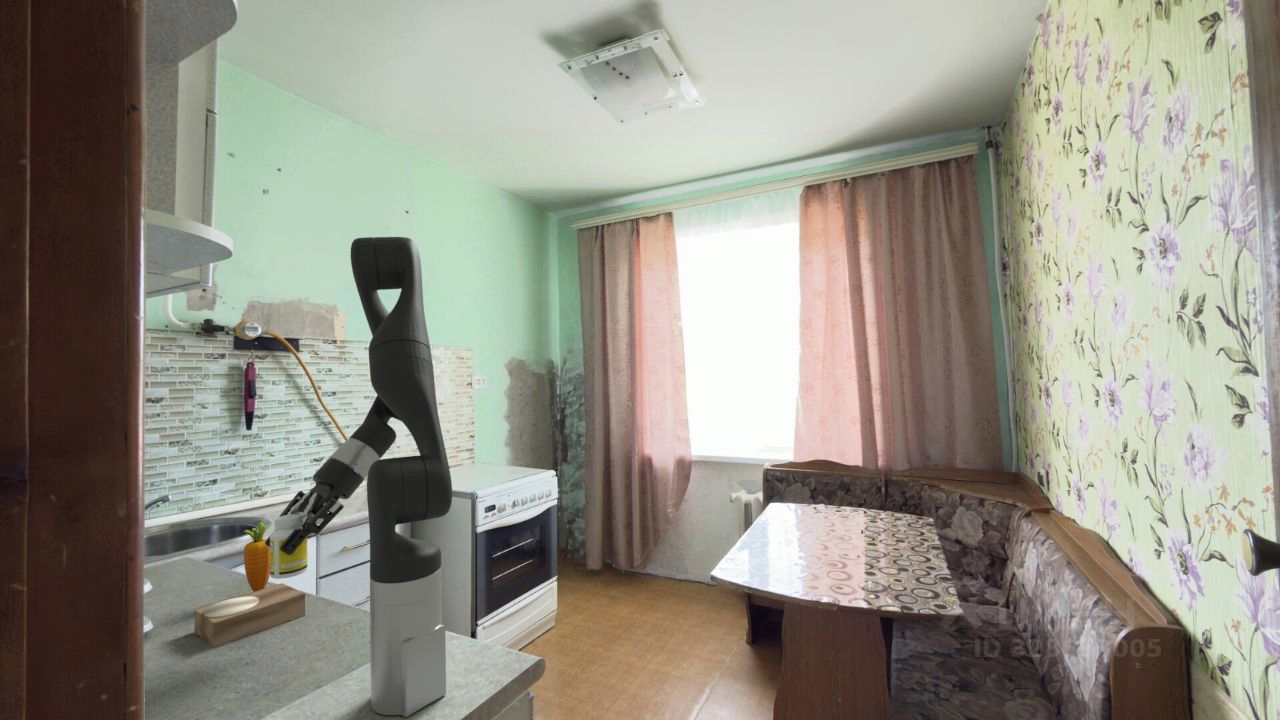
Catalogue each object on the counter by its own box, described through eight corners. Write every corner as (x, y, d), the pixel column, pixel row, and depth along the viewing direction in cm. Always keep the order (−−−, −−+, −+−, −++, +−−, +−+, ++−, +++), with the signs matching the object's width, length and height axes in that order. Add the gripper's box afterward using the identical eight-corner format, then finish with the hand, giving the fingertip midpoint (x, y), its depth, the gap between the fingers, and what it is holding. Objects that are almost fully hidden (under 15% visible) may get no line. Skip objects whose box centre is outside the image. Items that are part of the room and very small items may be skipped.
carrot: (257, 601, 107) (257, 527, 107) (237, 599, 108) (237, 526, 108) (278, 591, 111) (278, 520, 112) (259, 589, 112) (259, 519, 113)
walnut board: (305, 614, 100) (305, 592, 100) (214, 647, 88) (214, 621, 88) (282, 603, 105) (282, 581, 105) (194, 632, 94) (194, 607, 94)
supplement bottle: (315, 568, 93) (314, 513, 93) (289, 580, 87) (288, 521, 88) (288, 567, 94) (288, 512, 94) (261, 579, 88) (261, 521, 89)
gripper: (314, 453, 101) (241, 532, 91) (352, 458, 93) (276, 544, 83) (343, 476, 106) (276, 553, 95) (381, 482, 98) (313, 568, 87)
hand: (277, 549), depth 89 cm, fingers closed on supplement bottle, 5 cm apart
